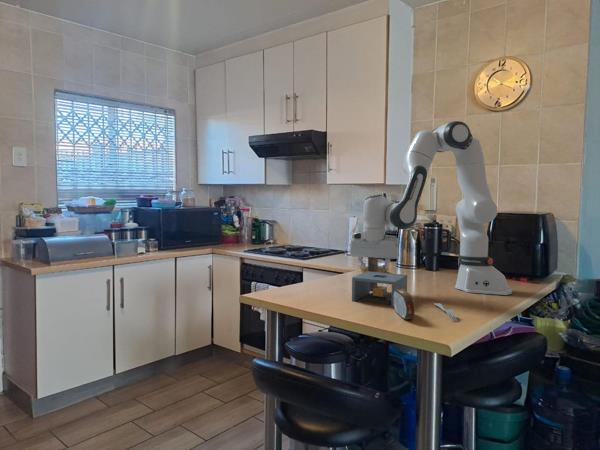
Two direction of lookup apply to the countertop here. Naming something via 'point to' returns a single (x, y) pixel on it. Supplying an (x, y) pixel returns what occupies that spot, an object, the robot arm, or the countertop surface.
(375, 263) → the brown wooden bar
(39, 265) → the countertop surface
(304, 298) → the countertop surface
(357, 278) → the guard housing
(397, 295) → the tin
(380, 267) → the soap dish
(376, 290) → the button
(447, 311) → the fork
